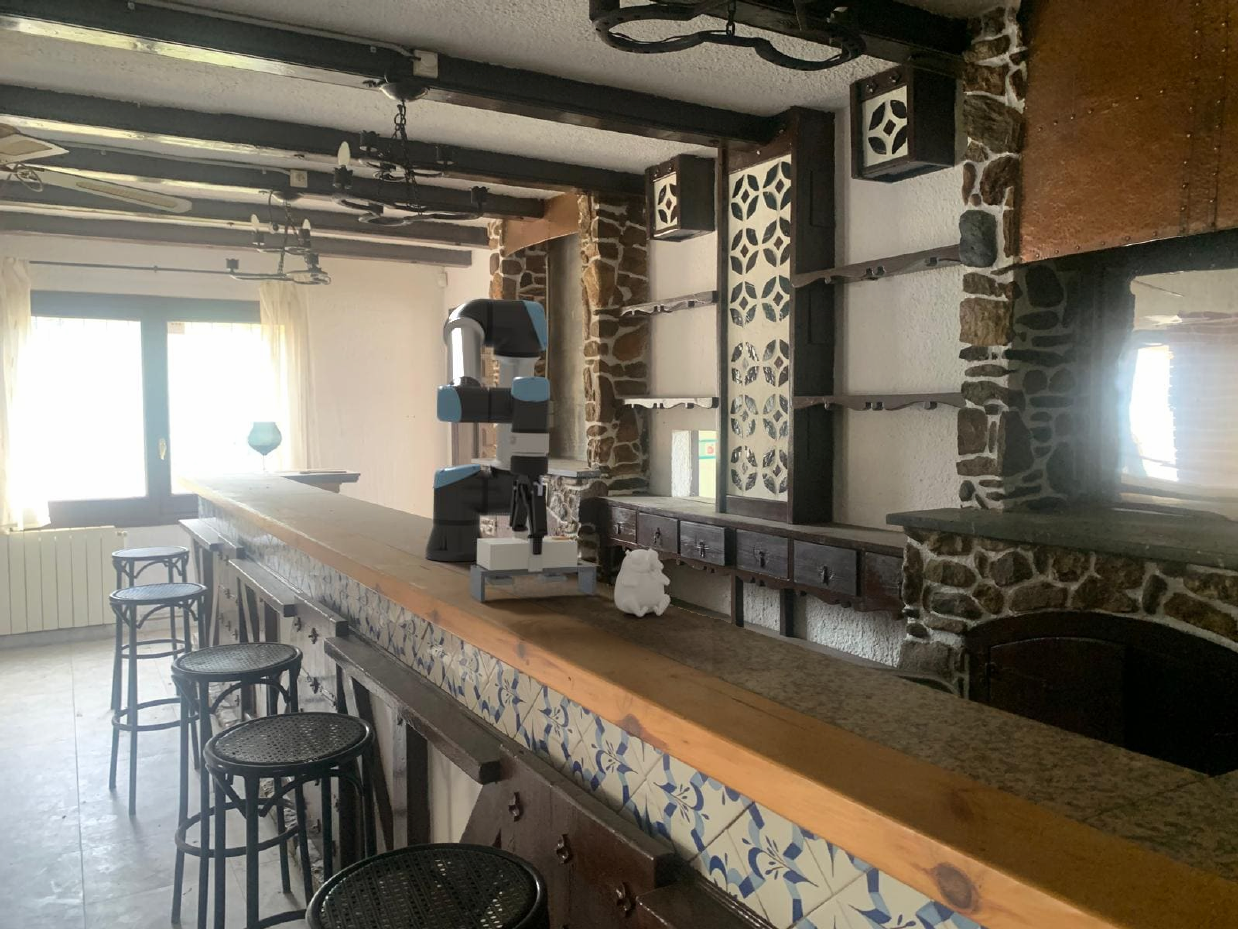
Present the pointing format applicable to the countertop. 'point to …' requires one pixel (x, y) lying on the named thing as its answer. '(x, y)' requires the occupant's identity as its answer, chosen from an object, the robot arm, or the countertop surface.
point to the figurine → (641, 584)
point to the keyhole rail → (583, 568)
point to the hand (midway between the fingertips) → (526, 567)
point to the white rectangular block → (525, 557)
